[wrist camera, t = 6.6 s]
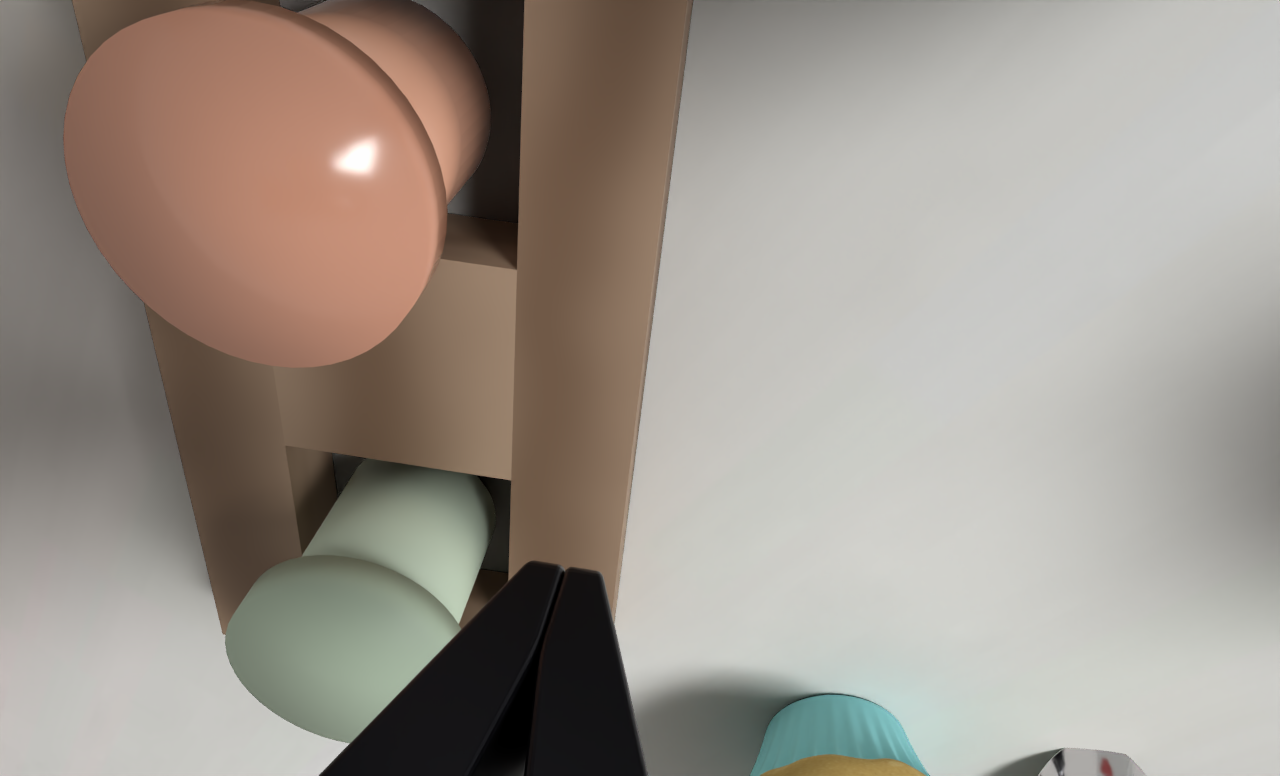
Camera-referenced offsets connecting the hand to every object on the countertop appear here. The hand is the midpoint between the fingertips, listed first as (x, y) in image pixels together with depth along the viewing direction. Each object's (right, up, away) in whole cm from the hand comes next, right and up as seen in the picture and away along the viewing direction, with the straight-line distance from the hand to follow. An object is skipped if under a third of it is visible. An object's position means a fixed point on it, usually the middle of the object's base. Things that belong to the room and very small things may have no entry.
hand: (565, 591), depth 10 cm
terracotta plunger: (-4, +8, +8) cm, 13 cm away
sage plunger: (-6, -1, +16) cm, 17 cm away
